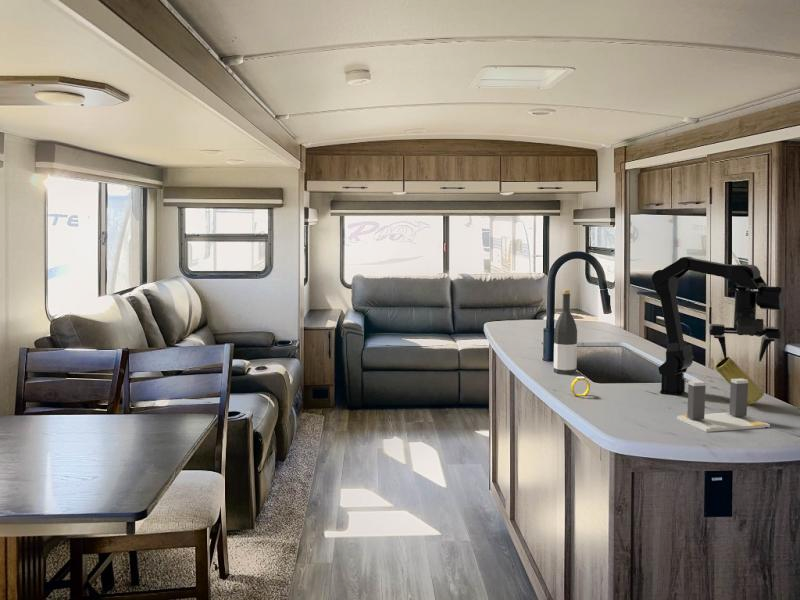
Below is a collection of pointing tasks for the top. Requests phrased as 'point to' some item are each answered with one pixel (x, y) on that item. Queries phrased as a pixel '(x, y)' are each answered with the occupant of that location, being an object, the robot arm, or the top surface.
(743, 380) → the switch
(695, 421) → the switch board
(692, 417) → the switch
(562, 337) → the wine bottle
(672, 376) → the robot arm
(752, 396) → the vase
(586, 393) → the yellow ring
